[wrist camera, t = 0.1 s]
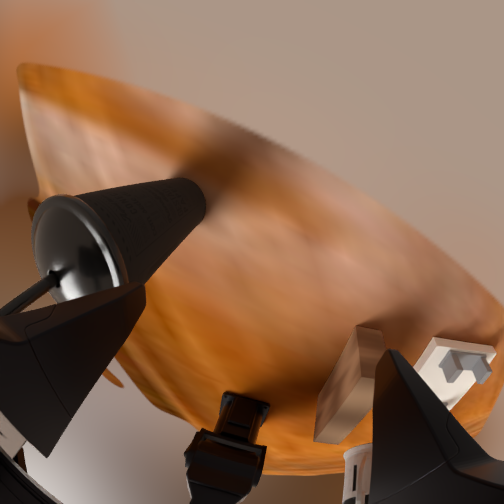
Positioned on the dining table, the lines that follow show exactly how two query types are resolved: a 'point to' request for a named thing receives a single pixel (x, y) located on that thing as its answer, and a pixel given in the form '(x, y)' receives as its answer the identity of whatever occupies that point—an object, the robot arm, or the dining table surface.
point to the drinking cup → (108, 237)
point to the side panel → (454, 367)
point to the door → (349, 387)
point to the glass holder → (357, 474)
